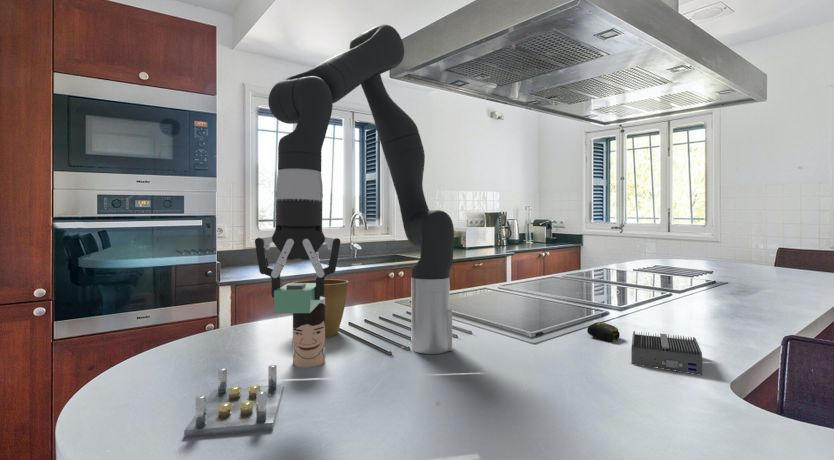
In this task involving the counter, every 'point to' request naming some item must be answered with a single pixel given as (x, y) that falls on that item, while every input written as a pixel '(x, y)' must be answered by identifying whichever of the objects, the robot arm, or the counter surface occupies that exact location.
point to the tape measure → (603, 331)
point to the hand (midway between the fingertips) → (298, 299)
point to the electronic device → (667, 352)
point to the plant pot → (333, 303)
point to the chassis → (236, 408)
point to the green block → (295, 298)
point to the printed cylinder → (309, 337)
